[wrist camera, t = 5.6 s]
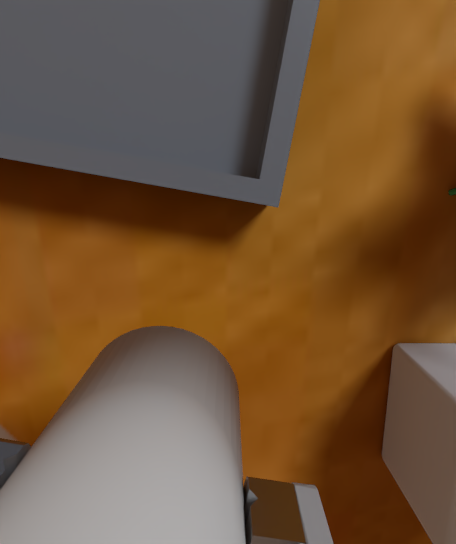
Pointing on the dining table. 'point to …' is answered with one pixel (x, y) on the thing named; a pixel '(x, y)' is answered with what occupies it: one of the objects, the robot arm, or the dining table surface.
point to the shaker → (136, 451)
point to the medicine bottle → (424, 433)
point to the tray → (156, 90)
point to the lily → (452, 191)
